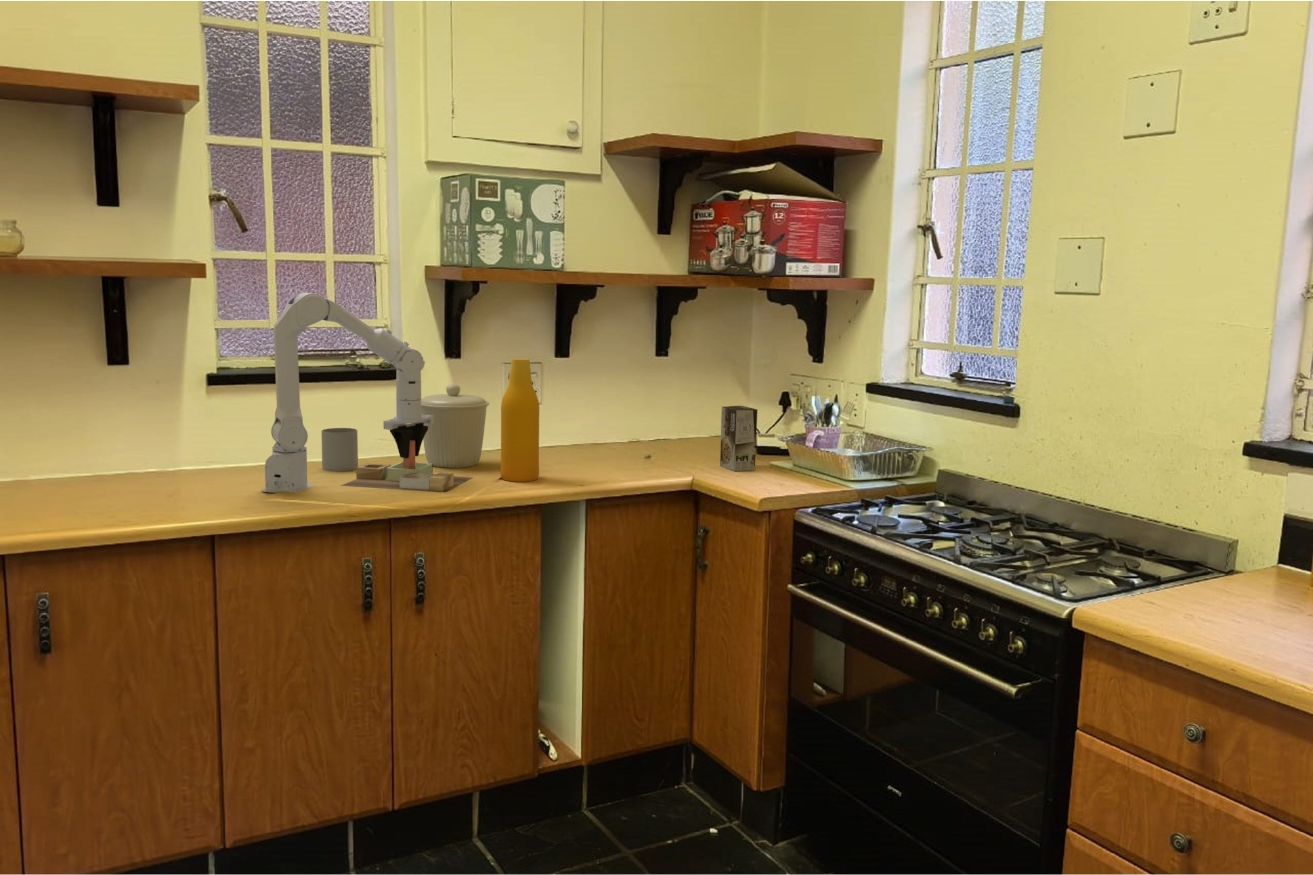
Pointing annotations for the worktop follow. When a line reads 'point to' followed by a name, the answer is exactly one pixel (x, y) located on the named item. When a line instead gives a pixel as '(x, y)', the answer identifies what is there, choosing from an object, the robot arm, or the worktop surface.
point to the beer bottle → (520, 426)
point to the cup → (339, 449)
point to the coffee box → (738, 438)
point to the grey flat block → (416, 481)
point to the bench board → (377, 479)
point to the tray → (407, 470)
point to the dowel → (410, 457)
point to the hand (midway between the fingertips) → (409, 456)
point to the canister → (454, 428)
